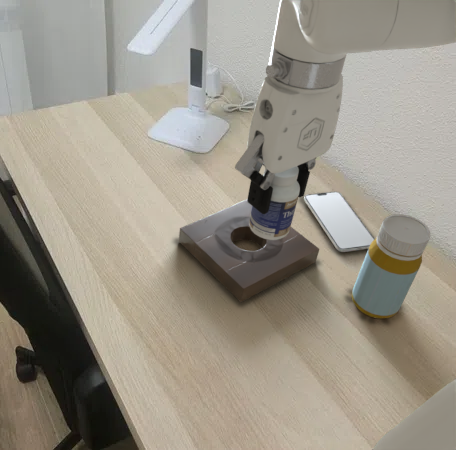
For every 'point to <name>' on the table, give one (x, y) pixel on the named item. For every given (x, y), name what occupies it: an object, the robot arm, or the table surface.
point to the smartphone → (339, 221)
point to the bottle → (390, 266)
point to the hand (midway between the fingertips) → (275, 198)
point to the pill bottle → (277, 207)
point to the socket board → (245, 251)
